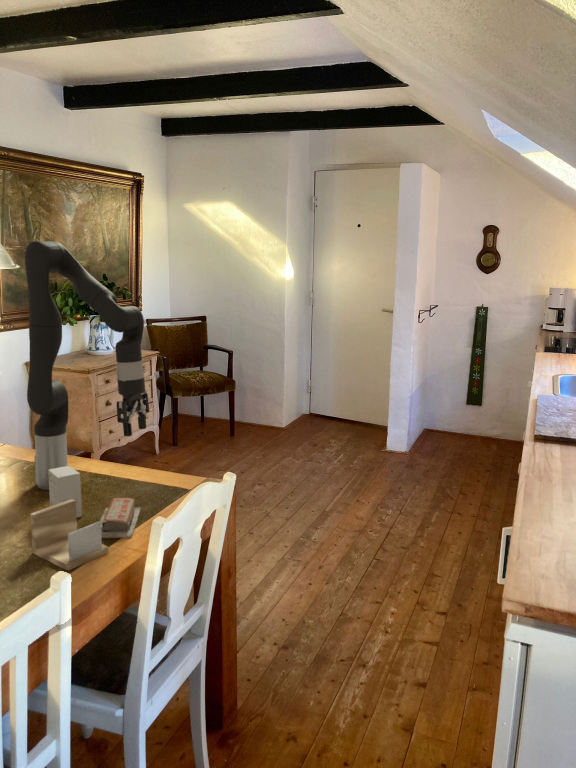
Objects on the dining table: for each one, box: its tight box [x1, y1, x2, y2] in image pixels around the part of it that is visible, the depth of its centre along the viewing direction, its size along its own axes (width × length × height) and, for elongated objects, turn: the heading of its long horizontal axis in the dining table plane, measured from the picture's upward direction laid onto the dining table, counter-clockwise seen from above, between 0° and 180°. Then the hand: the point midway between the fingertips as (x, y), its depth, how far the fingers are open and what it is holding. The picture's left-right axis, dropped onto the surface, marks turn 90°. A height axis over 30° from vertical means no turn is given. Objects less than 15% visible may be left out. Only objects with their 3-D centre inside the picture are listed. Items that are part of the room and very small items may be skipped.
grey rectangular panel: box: [68, 520, 103, 562], centre depth 157 cm, size 1×9×7 cm, turn 144°
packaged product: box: [99, 497, 141, 539], centre depth 179 cm, size 18×5×10 cm
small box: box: [48, 465, 83, 519], centre depth 182 cm, size 8×6×13 cm
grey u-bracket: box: [30, 499, 110, 572], centre depth 161 cm, size 14×12×10 cm
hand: (135, 432), depth 187 cm, fingers open, 8 cm apart
